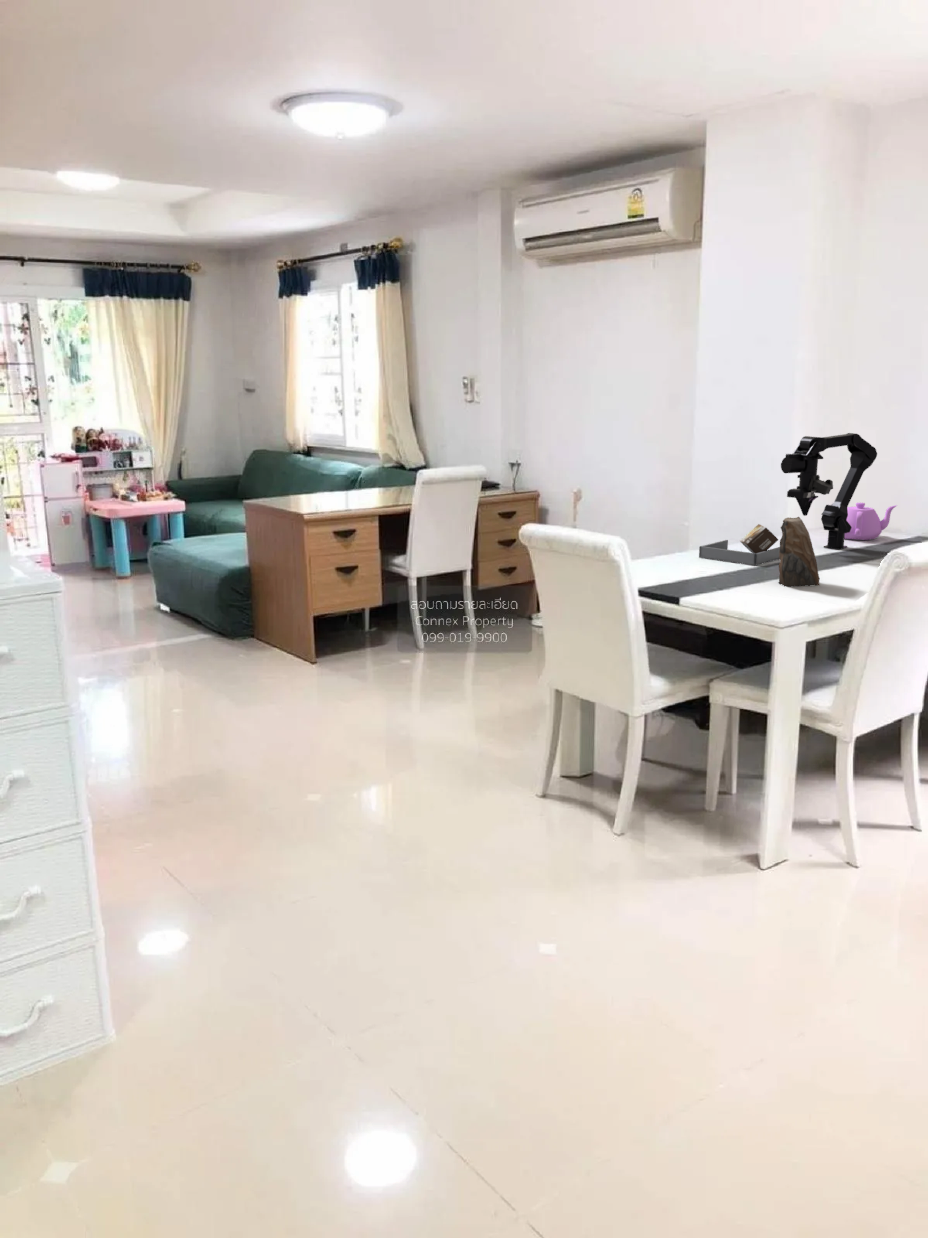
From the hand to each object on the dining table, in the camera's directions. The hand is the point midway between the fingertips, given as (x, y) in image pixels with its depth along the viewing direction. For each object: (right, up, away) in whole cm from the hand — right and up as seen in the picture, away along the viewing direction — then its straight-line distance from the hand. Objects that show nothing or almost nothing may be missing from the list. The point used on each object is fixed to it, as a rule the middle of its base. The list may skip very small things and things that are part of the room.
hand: (805, 515), depth 353 cm
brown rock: (-20, -27, -49) cm, 59 cm away
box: (-26, -16, -8) cm, 32 cm away
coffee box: (-18, -8, -1) cm, 20 cm away
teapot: (+33, -6, +28) cm, 43 cm away
